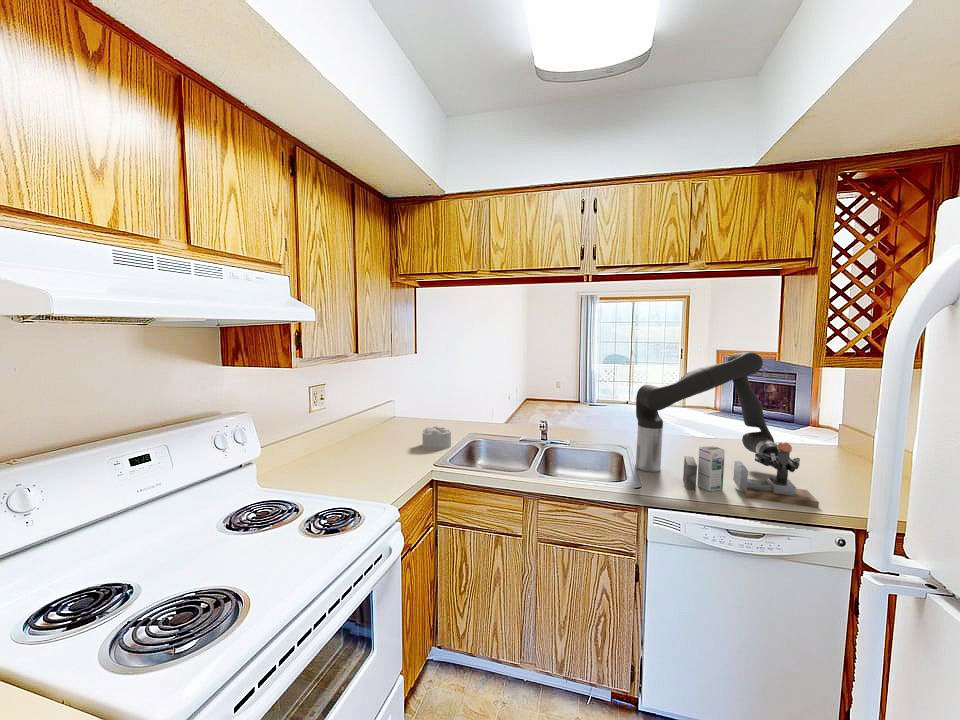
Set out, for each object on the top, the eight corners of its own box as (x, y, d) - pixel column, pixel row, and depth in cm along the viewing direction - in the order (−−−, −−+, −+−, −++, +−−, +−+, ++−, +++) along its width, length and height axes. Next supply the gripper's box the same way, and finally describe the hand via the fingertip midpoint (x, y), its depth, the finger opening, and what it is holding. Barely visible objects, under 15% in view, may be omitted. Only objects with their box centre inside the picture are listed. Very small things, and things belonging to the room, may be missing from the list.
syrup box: (709, 491, 144) (712, 451, 142) (696, 485, 150) (699, 446, 148) (722, 490, 145) (725, 449, 144) (709, 483, 151) (712, 444, 150)
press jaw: (739, 490, 140) (743, 441, 138) (733, 479, 149) (736, 434, 147) (796, 497, 134) (801, 447, 132) (786, 486, 143) (790, 439, 142)
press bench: (686, 489, 146) (687, 464, 145) (683, 479, 155) (684, 455, 154) (818, 507, 132) (821, 480, 131) (806, 495, 142) (808, 469, 141)
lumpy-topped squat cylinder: (423, 443, 197) (423, 425, 196) (450, 442, 198) (450, 425, 197) (422, 450, 186) (422, 431, 186) (451, 449, 188) (451, 431, 187)
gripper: (748, 440, 154) (761, 454, 138) (794, 445, 150) (813, 460, 133) (747, 460, 155) (760, 476, 139) (792, 465, 150) (811, 482, 134)
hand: (785, 468), depth 136 cm, fingers closed on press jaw, 3 cm apart
